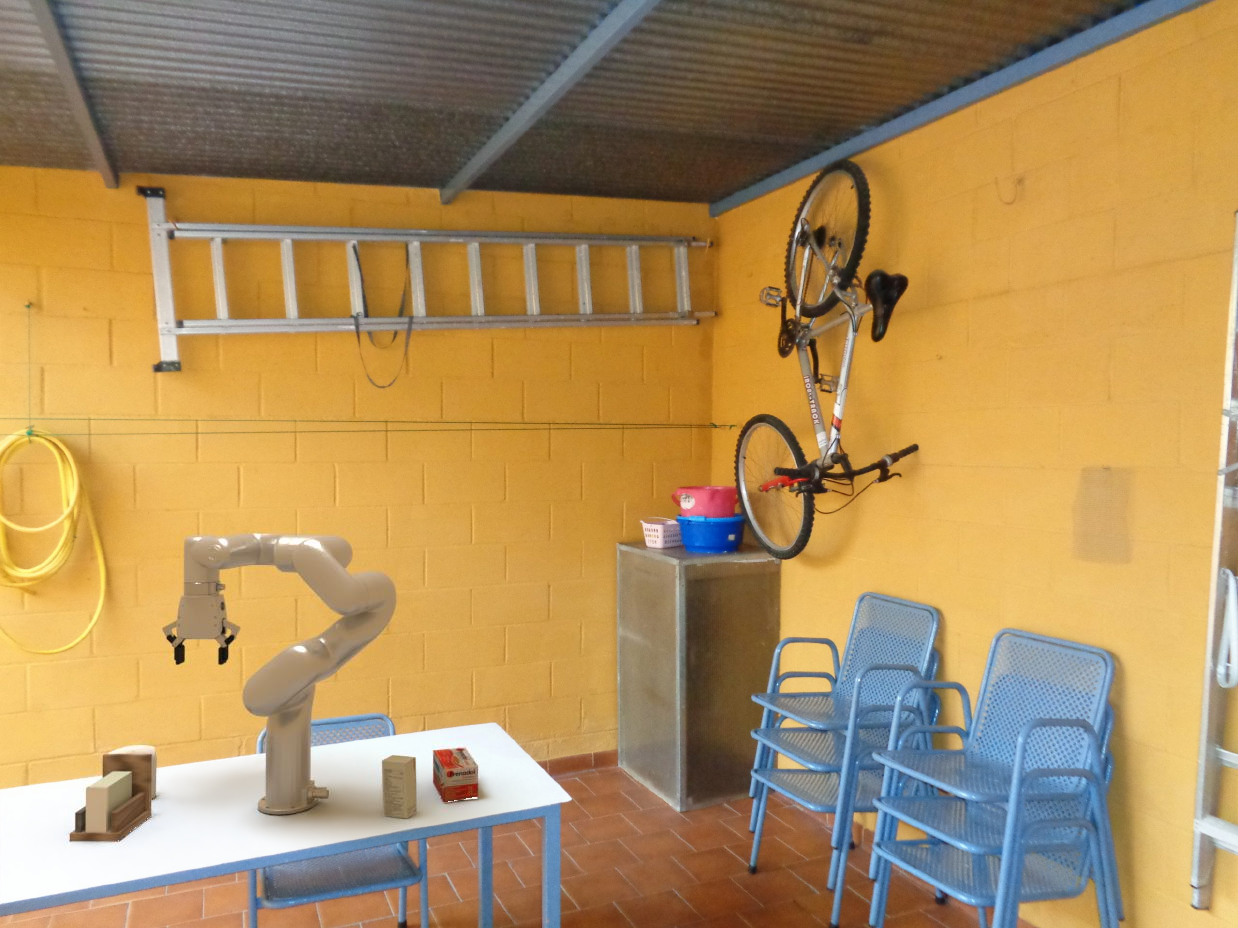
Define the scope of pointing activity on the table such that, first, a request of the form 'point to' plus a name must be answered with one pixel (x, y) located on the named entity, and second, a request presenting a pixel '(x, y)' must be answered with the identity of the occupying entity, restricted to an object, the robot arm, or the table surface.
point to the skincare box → (399, 786)
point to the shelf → (130, 811)
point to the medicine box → (455, 774)
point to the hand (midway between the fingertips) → (201, 663)
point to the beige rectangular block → (106, 800)
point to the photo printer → (142, 750)
